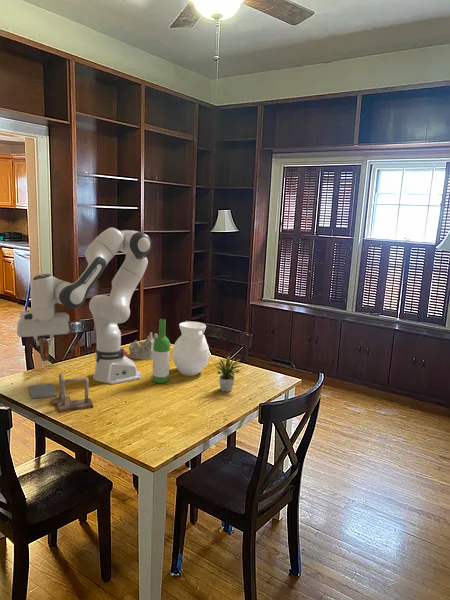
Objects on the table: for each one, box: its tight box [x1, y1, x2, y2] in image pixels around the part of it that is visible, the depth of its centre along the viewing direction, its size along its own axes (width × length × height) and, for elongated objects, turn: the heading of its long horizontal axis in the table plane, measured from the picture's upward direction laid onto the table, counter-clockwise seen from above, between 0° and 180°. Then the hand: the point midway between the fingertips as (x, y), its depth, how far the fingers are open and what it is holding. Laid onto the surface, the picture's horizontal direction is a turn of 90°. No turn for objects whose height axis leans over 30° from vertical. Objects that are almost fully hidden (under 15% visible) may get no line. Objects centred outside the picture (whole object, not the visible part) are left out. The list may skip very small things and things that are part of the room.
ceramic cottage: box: [128, 332, 159, 361], centre depth 250 cm, size 16×16×15 cm
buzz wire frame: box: [51, 373, 94, 413], centre depth 183 cm, size 14×12×12 cm
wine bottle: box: [152, 318, 171, 384], centre depth 212 cm, size 8×8×30 cm
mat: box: [28, 382, 58, 400], centre depth 195 cm, size 10×14×1 cm
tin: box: [38, 337, 51, 362], centre depth 190 cm, size 15×3×8 cm, turn 27°
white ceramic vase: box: [171, 321, 210, 376], centre depth 226 cm, size 19×18×25 cm
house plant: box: [214, 355, 244, 393], centre depth 205 cm, size 14×14×16 cm
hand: (43, 345), depth 190 cm, fingers closed on tin, 3 cm apart
